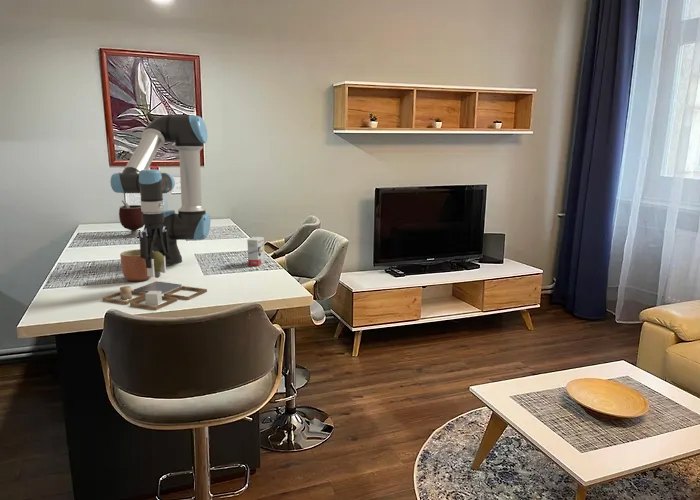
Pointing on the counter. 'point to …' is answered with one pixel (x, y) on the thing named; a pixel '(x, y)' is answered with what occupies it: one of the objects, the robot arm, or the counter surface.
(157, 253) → the light bulb
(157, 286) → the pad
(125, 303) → the wooden square frame
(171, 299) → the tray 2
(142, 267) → the planter
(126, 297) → the cork stub
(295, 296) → the counter surface
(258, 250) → the ink box
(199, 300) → the counter surface
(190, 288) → the brown square outline
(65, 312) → the counter surface
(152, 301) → the grey cube
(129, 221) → the mate gourd
